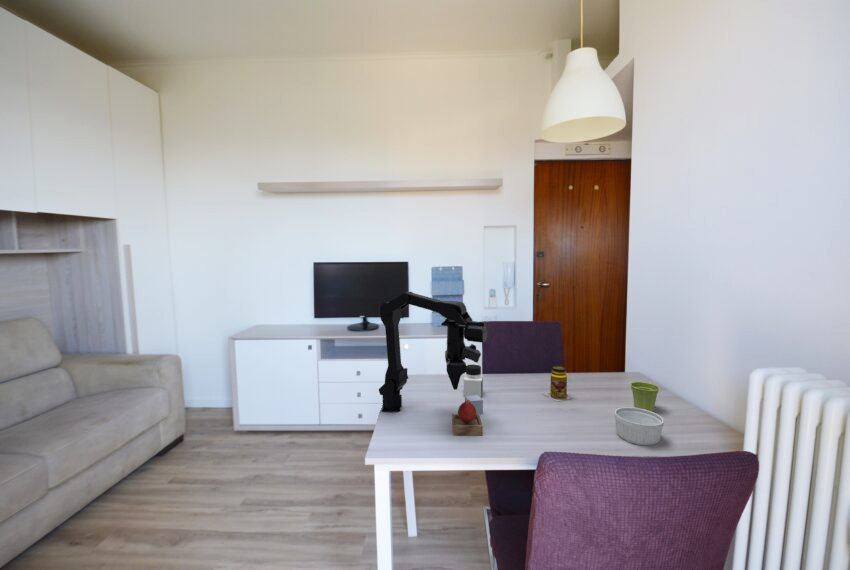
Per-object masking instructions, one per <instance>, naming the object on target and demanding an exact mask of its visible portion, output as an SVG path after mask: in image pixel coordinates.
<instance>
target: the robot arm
mask: <svg viewBox="0 0 850 570" xmlns="http://www.w3.org/2000/svg"><path fill="white" fill-rule="evenodd" d="M409 305H411V306H414V307H418V308H421V309H424V310H428V311H432V312H435V313H437V314H439V315H440V316H441V317H443V318H445V320H444V321H442V323H441V324H440V325H441V326H443V327H446V328H447V329H446V349H445V350H444V356H445V357H444V358H445V362H446V373H447V376H448V378H449V381H450V384H451V386H452V388H453V390H455V391H456V390H458V387H459V383H460V379H461V377H462V375H463V374H466V367H467V364H466V363H467V362H465V360H466V359H467V360H470V361H472V362H474V363H475V364H476V363H479V360H480V357H481V355H482V353H481V351H480V350H478V349H477V346H476V344H473V342H474V343H481V344H483V343H484V344H485V343H486V342H487V338H488V327H487V324H486V321H477V320H476V321H475V320H473V318H472V317H471V316H470V314H469V312H468V311H467V310H468V309H467V307H466V304H465V303H464V302H462V301H456V300H455V301H454V300H440V299H436V298H432V297H429V296H425V295H422V294H418V293H415V292H413V291H404V292H403V293H401V294H400V295H399V296H397V297H395V298H393V299H392V300H390V301H388V302H384V303H381V305H380V306H379V308H378V312H379V318H380V321H381V323H382V324H383V326H384V330H385V340H386V341H385V342H386V353H387V354H386V356H387V369H386V370H385V375H384V384H382V386H380V387H379V388H378V393H379V395H380V396H382V409H381V412H383V413H384V412H387V413H388V412H389V413H390V412H401V408H402V405H403V402H402V401H403V397H402V394H401V390H403V388H404V386H405V385H406V384H407V381H408V379H409V376H408V368H407V367H404V366H403V364H402V357H401V345H400V330H399V325H400V322H401V318H402V310H405V308H407V307H408V306H409ZM465 340H466V341H467V342H472V343H471V344H470V345H466V344H465Z"/></svg>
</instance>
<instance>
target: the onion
mask: <svg viewBox="0 0 850 570" xmlns="http://www.w3.org/2000/svg"><path fill="white" fill-rule="evenodd" d="M457 414H458V416H459V418H460V419H461V420H462V421H463V422H465V423H469V422H471V421H472V420H474V418H475V416H476V409H475V407H474V406H473V404H471V403H470V400H466V401H465V400H464V402H462V403H461V404H460V405H459V407H458V409H457Z"/></svg>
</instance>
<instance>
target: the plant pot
mask: <svg viewBox="0 0 850 570" xmlns="http://www.w3.org/2000/svg"><path fill="white" fill-rule="evenodd" d="M629 386H630V388H631V390H632V391H631V392H632V400H633V407H634V408H640V409H645V410H648V411H651V412H654V411H655V405H656V401H657V397H658V394H659V391H660V390H661V387H660V386H658V385H656V384H653V383H649V382H645V381H632V382H630V383H629Z"/></svg>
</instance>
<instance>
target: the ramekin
mask: <svg viewBox="0 0 850 570" xmlns="http://www.w3.org/2000/svg"><path fill="white" fill-rule="evenodd" d="M614 419H615V429H616V433H617V434H618V436H619V437H620V438H621V439H623V440H624V441H626V442H628V443H631V444H634V445H639V446H654V445H656V444H657V443H659V442H660V440H661V436H662V431H663V427H664V424H665V420H664V418H663V417H662V416H661V415H660V414H658V413H656V412H654V411H648V410H645V409H640V408H635V407H634V406H633V407H632V406H624V407H619V408H616V409H615V410H614Z"/></svg>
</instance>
